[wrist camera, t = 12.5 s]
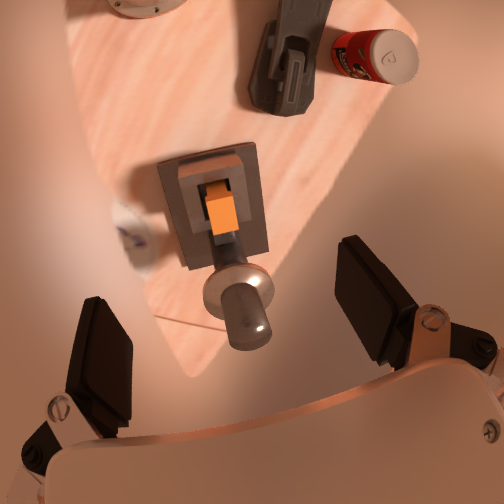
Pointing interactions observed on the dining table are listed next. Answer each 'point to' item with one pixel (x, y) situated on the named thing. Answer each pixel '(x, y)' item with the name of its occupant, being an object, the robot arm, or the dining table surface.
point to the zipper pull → (288, 58)
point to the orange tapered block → (220, 207)
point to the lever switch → (224, 238)
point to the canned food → (377, 56)
